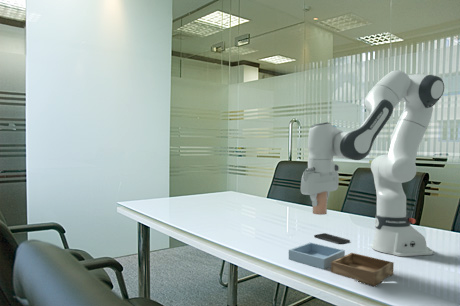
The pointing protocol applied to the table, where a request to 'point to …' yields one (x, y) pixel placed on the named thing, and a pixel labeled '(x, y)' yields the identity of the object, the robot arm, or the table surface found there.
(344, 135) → the robot arm
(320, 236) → the phone
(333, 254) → the bin
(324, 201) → the orange-tan rounded cylinder
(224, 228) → the table surface
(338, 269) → the tray
